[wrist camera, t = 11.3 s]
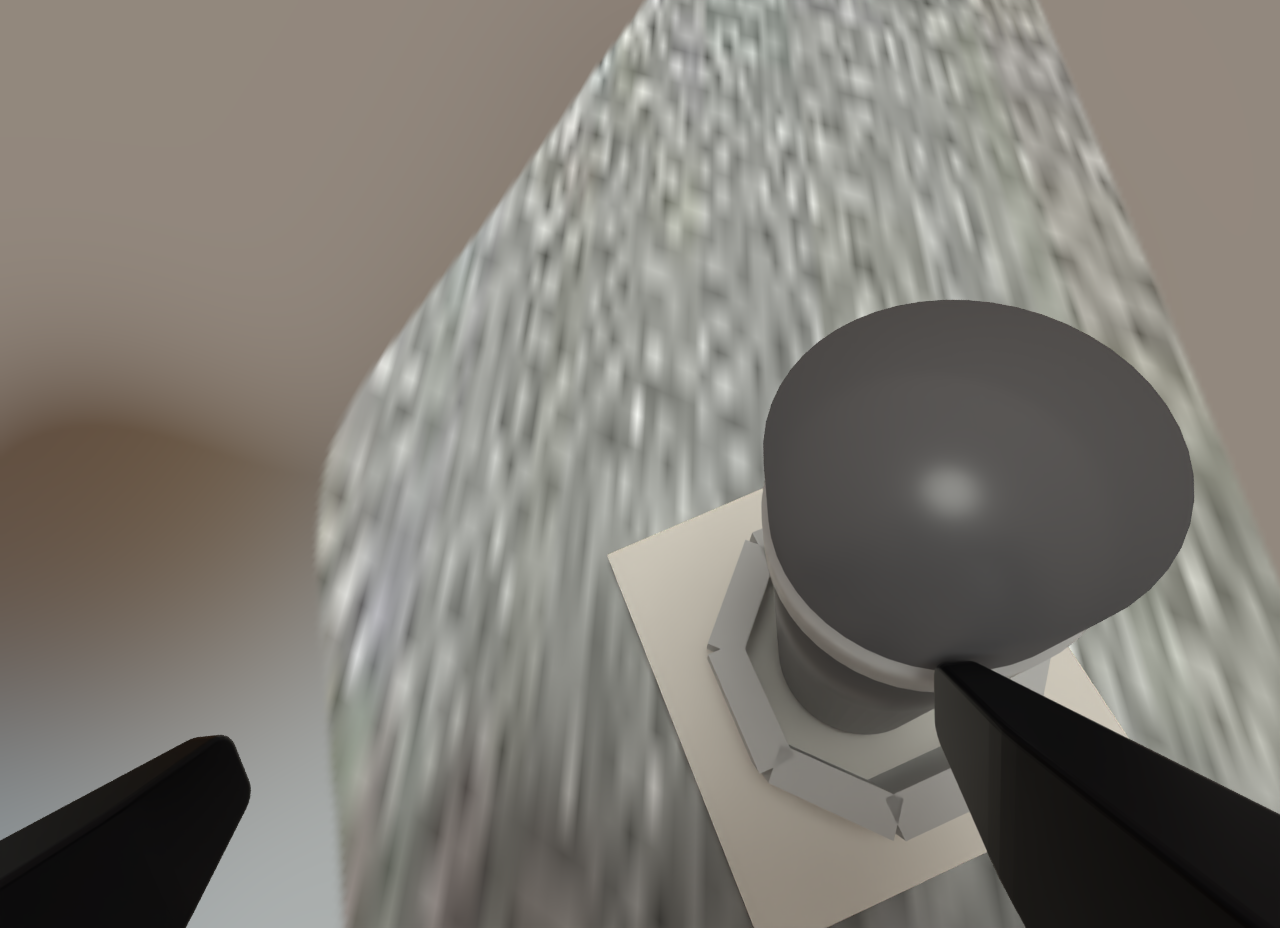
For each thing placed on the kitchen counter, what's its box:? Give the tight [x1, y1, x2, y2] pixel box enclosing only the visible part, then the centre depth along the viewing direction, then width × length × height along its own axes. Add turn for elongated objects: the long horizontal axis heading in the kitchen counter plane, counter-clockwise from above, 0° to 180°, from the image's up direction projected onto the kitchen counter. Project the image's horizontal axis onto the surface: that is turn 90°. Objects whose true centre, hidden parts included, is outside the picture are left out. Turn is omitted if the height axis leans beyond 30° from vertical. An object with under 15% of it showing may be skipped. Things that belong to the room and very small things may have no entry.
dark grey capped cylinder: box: [761, 300, 1194, 735], centre depth 13 cm, size 5×5×13 cm
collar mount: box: [607, 489, 1129, 928], centre depth 18 cm, size 12×12×4 cm
